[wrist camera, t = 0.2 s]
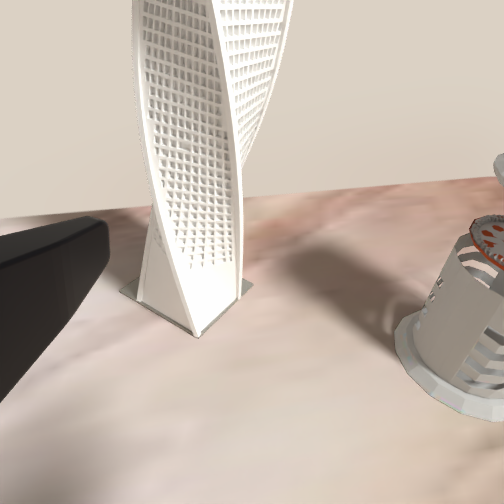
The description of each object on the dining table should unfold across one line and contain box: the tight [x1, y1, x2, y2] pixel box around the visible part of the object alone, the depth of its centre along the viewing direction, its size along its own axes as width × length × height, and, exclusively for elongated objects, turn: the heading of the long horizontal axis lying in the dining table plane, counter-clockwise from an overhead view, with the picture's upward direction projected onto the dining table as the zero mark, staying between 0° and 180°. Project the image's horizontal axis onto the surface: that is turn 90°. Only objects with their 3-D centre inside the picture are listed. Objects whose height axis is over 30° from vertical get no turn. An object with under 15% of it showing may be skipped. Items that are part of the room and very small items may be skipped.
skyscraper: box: [120, 0, 294, 339], centre depth 24 cm, size 8×8×28 cm
